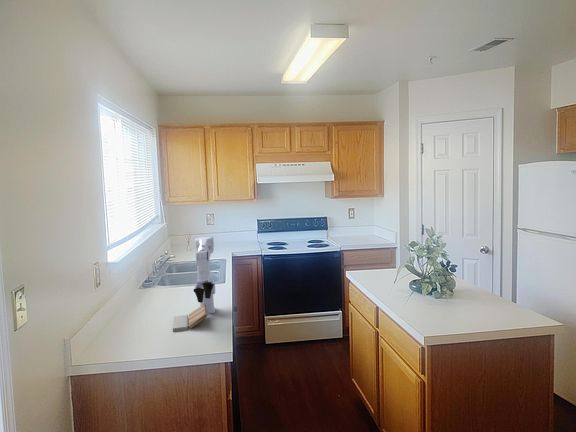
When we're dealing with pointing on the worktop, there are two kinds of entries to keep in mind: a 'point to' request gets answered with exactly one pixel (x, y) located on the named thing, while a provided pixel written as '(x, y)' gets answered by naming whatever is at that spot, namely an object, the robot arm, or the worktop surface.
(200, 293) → the robot arm
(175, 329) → the floor board
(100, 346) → the worktop surface
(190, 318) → the tan flat block
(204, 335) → the worktop surface
